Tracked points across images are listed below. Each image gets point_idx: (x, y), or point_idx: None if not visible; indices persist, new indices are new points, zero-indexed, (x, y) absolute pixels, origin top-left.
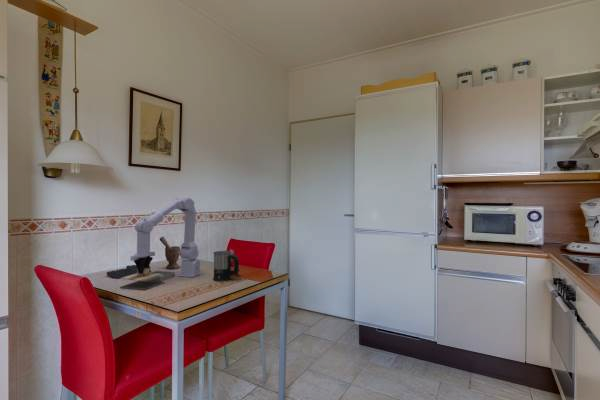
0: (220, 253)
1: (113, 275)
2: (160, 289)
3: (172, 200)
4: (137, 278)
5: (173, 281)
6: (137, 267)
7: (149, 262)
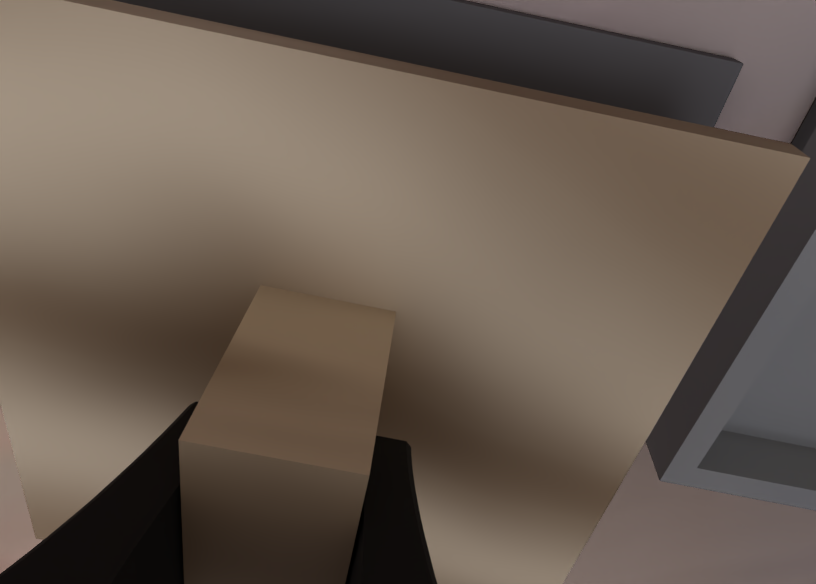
0: None
1: None
2: None
3: None
4: (64, 398)
5: (621, 559)
6: (60, 542)
7: None
